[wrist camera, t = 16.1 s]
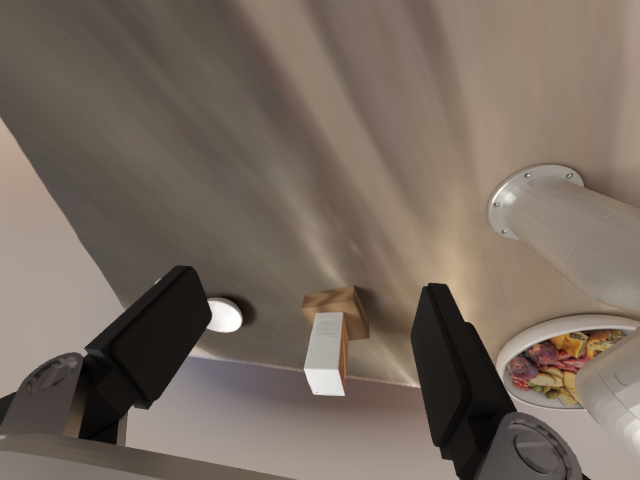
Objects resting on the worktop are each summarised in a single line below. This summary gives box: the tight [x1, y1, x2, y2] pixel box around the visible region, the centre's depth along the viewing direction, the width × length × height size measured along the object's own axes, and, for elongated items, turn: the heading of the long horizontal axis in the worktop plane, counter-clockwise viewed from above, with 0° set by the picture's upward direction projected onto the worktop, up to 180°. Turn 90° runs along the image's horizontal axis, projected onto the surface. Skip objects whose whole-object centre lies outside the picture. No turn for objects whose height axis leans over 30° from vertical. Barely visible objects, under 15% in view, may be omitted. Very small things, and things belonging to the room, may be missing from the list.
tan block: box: [301, 286, 369, 341], centre depth 55 cm, size 12×12×5 cm
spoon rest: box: [155, 278, 243, 332], centre depth 59 cm, size 24×12×7 cm, turn 71°
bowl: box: [496, 314, 640, 411], centre depth 50 cm, size 30×30×8 cm
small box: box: [304, 312, 349, 396], centre depth 47 cm, size 8×6×13 cm
